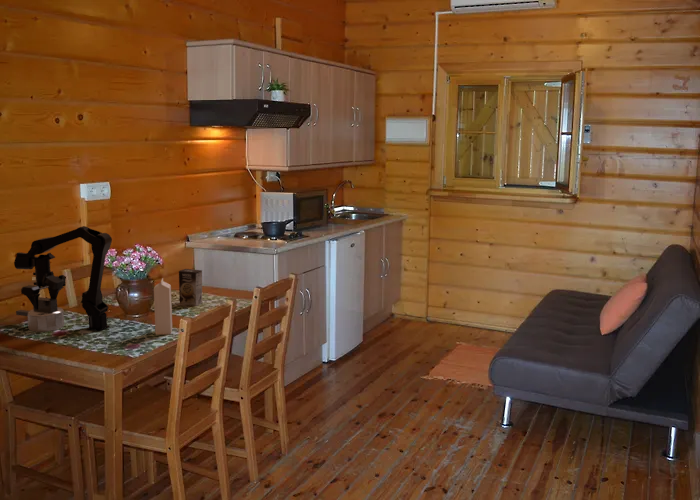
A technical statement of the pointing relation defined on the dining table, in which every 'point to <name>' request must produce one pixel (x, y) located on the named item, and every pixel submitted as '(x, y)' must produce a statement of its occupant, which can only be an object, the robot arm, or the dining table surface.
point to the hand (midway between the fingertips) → (45, 306)
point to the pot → (43, 322)
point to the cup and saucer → (46, 308)
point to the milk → (163, 308)
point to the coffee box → (190, 287)
